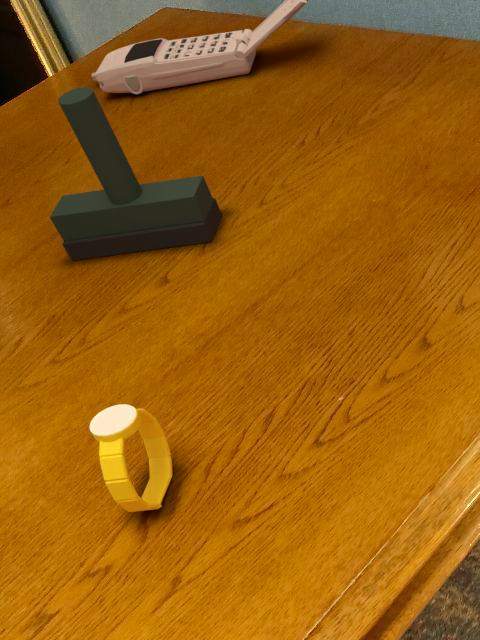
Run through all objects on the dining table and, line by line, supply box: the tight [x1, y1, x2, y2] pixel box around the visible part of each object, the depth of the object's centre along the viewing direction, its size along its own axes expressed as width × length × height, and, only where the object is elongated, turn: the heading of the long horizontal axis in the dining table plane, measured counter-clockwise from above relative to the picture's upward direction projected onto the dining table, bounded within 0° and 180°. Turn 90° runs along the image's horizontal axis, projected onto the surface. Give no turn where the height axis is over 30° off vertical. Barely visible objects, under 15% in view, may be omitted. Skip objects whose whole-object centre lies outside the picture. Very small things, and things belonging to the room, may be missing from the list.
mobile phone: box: [91, 0, 309, 95], centre depth 100 cm, size 6×6×25 cm
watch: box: [89, 403, 173, 513], centre depth 59 cm, size 6×3×6 cm, turn 0°
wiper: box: [49, 86, 223, 262], centre depth 77 cm, size 12×4×12 cm, turn 89°
